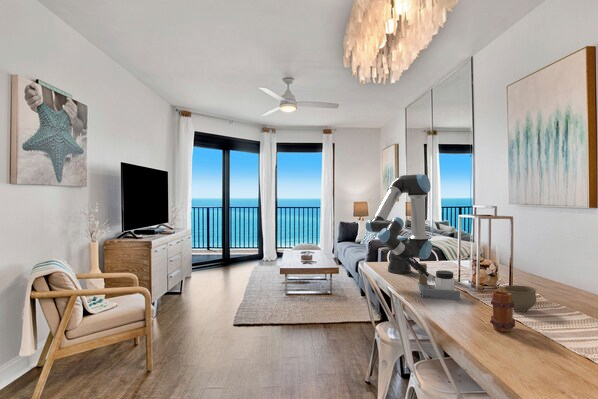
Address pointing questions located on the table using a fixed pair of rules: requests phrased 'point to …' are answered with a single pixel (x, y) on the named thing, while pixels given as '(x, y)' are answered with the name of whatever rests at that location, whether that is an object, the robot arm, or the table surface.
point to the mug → (502, 310)
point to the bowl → (522, 297)
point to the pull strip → (435, 293)
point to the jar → (444, 280)
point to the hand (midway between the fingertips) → (428, 278)
